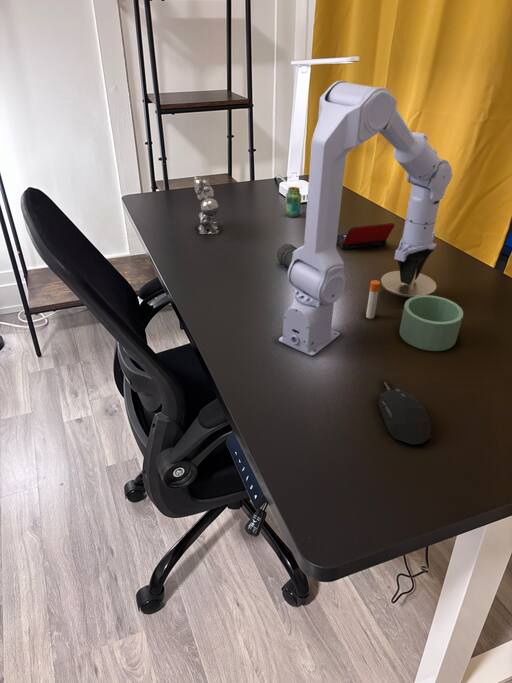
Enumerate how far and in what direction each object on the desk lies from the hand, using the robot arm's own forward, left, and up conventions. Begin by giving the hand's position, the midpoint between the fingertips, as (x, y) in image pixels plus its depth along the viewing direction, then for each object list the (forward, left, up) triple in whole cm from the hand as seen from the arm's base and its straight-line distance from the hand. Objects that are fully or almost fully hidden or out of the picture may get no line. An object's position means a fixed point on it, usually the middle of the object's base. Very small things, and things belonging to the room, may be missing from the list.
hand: (408, 280), depth 108 cm
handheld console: (+19, +22, -4) cm, 29 cm away
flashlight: (-6, +24, -4) cm, 25 cm away
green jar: (+25, +49, -4) cm, 55 cm away
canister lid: (0, 0, -1) cm, 1 cm away
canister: (-11, -10, -4) cm, 15 cm away
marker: (-12, +2, -4) cm, 13 cm away
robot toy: (-1, +59, -4) cm, 59 cm away
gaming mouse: (-35, -16, -4) cm, 39 cm away
